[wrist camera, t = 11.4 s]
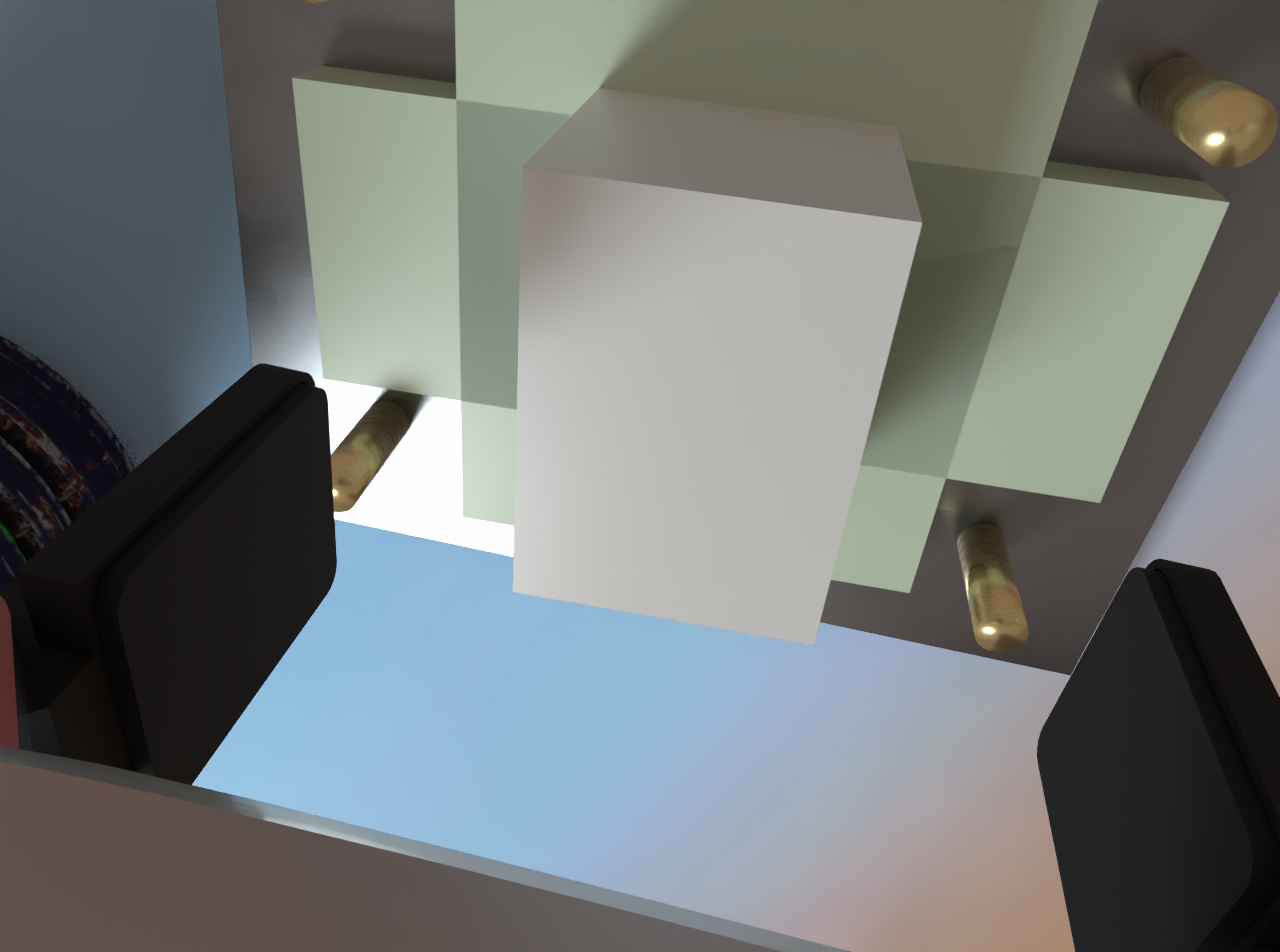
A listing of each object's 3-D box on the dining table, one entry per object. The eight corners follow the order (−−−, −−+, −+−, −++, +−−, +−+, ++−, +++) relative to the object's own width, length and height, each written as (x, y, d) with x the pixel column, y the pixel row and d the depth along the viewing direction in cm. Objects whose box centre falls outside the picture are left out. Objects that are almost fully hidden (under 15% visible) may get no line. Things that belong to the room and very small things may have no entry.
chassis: (1448, -104, 15) (1636, -92, 12) (1059, 640, 24) (1100, 774, 20) (225, -304, 16) (61, -347, 13) (288, 478, 25) (201, 579, 22)
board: (1285, -10, 15) (1524, 58, 10) (1040, 582, 22) (1107, 808, 16) (305, -123, 16) (66, -114, 11) (356, 467, 23) (221, 644, 18)
